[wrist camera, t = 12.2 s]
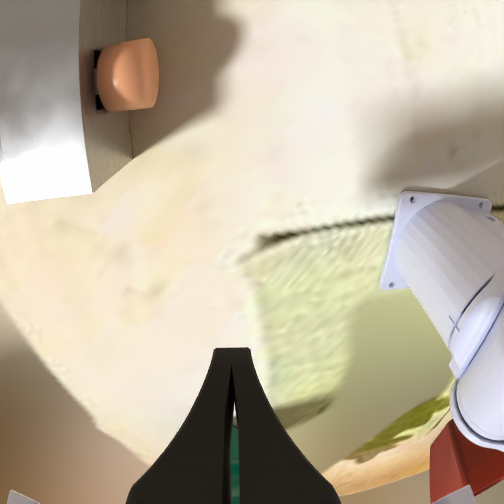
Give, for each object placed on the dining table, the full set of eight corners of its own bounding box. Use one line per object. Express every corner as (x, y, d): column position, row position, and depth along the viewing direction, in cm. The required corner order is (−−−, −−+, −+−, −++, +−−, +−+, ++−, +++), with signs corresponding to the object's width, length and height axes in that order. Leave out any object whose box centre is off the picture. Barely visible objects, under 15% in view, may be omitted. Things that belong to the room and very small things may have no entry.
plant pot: (439, 418, 39) (469, 497, 25) (514, 382, 38) (547, 445, 24) (412, 456, 49) (430, 517, 34) (479, 426, 48) (501, 480, 34)
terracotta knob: (158, 42, 13) (138, 32, 10) (160, 105, 15) (140, 110, 12) (48, 67, 12) (13, 69, 9) (52, 123, 14) (18, 135, 11)
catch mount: (136, -89, 8) (106, -131, 3) (132, 159, 17) (92, 193, 12) (61, -65, 8) (16, -90, 3) (59, 168, 17) (7, 203, 12)
